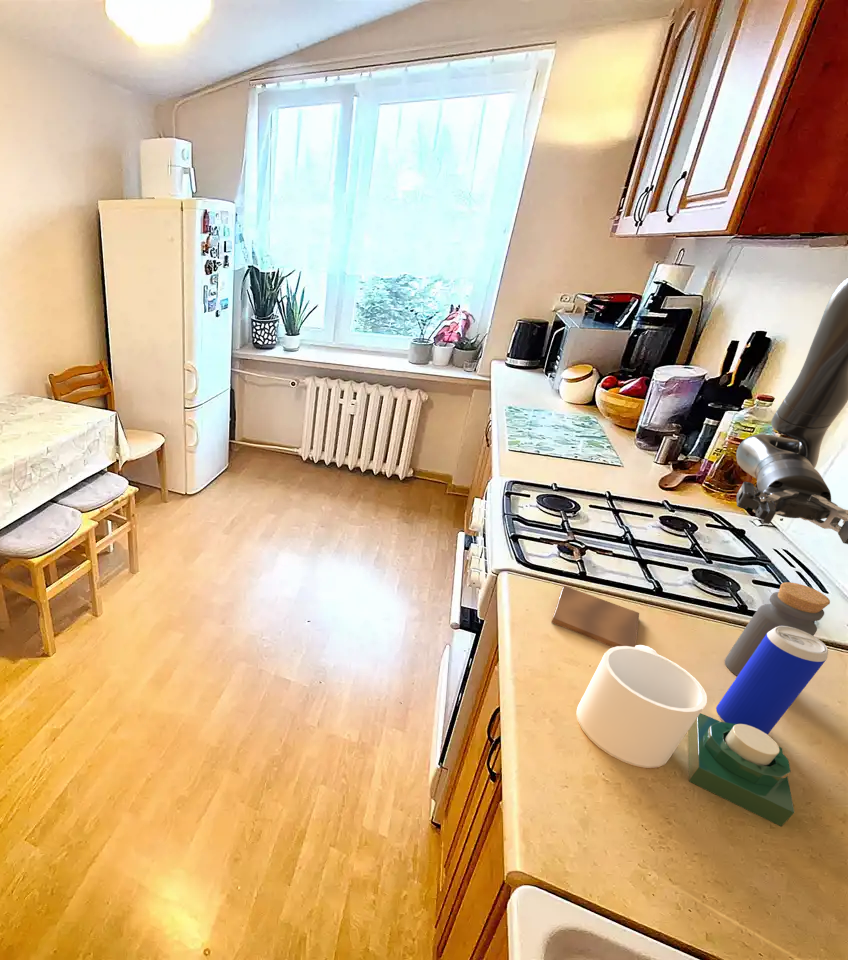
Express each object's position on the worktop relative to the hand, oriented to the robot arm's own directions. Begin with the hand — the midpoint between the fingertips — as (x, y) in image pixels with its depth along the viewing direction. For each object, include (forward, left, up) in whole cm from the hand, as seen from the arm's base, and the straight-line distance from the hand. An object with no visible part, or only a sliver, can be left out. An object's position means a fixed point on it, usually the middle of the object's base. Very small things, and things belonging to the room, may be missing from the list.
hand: (809, 528), depth 75 cm
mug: (+14, +35, -20) cm, 43 cm away
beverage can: (+2, +24, -20) cm, 31 cm away
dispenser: (+3, +34, -20) cm, 39 cm away
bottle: (0, +11, -20) cm, 23 cm away
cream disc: (+3, +34, -16) cm, 38 cm away
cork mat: (+19, +13, -20) cm, 30 cm away
